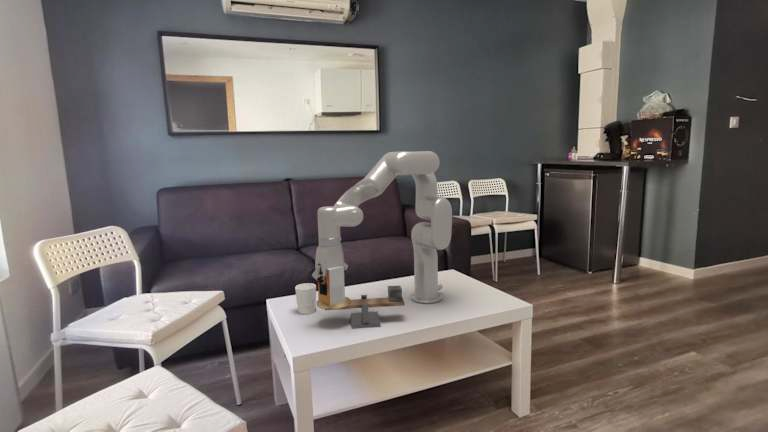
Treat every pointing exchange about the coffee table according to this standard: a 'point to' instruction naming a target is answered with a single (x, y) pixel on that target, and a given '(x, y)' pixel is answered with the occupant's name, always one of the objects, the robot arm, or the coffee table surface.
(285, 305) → the coffee table surface
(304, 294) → the white cup
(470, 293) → the coffee table surface
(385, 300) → the beam
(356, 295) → the coffee table surface
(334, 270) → the small box
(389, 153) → the robot arm
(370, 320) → the beam stand
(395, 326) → the coffee table surface
